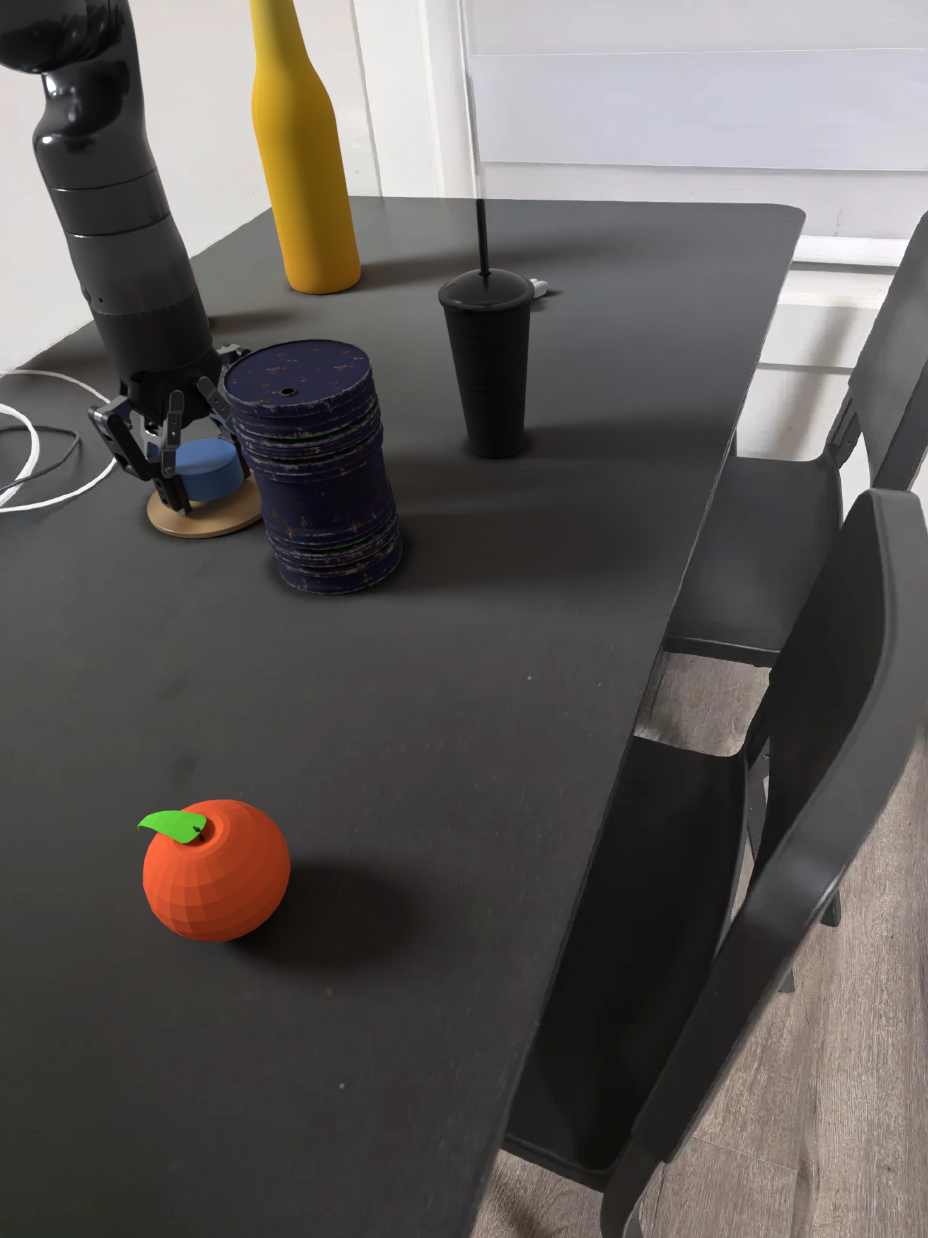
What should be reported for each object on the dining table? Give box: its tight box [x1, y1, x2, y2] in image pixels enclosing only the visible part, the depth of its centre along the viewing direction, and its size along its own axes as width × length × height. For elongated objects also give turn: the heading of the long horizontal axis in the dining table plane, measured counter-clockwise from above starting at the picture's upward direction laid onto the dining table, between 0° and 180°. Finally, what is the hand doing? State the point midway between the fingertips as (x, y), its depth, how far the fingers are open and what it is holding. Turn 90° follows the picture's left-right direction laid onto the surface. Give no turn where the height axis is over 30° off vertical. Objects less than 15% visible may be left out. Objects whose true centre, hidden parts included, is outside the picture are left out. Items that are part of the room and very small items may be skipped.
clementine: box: [136, 798, 291, 943], centre depth 42 cm, size 8×7×7 cm
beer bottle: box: [248, 0, 362, 295], centre depth 96 cm, size 9×9×29 cm
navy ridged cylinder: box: [222, 338, 403, 596], centre depth 60 cm, size 10×10×15 cm
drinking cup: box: [437, 198, 535, 459], centre depth 69 cm, size 8×8×20 cm
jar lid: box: [175, 437, 244, 502], centre depth 70 cm, size 6×6×2 cm
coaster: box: [146, 469, 263, 539], centre depth 72 cm, size 11×11×1 cm
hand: (212, 492), depth 71 cm, fingers closed on jar lid, 5 cm apart
